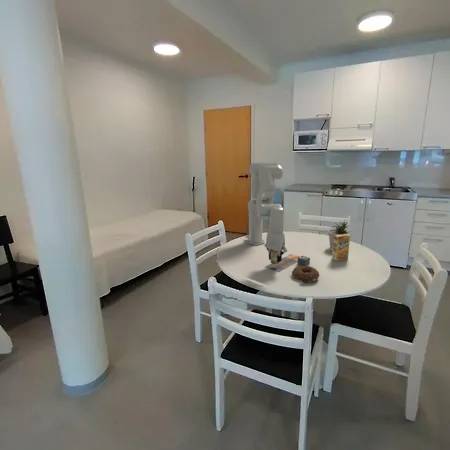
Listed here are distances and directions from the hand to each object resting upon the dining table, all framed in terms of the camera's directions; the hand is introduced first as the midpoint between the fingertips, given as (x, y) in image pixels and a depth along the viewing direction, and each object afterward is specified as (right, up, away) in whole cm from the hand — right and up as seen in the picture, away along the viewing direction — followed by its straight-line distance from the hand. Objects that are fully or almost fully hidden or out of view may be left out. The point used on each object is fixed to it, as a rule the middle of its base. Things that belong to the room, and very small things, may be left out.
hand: (275, 260), depth 166 cm
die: (+17, -4, +5) cm, 19 cm away
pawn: (0, -1, 0) cm, 1 cm away
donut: (+14, -9, -10) cm, 19 cm away
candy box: (+42, -1, +14) cm, 45 cm away
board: (+8, -3, +8) cm, 12 cm away
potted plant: (+48, +4, +32) cm, 58 cm away
